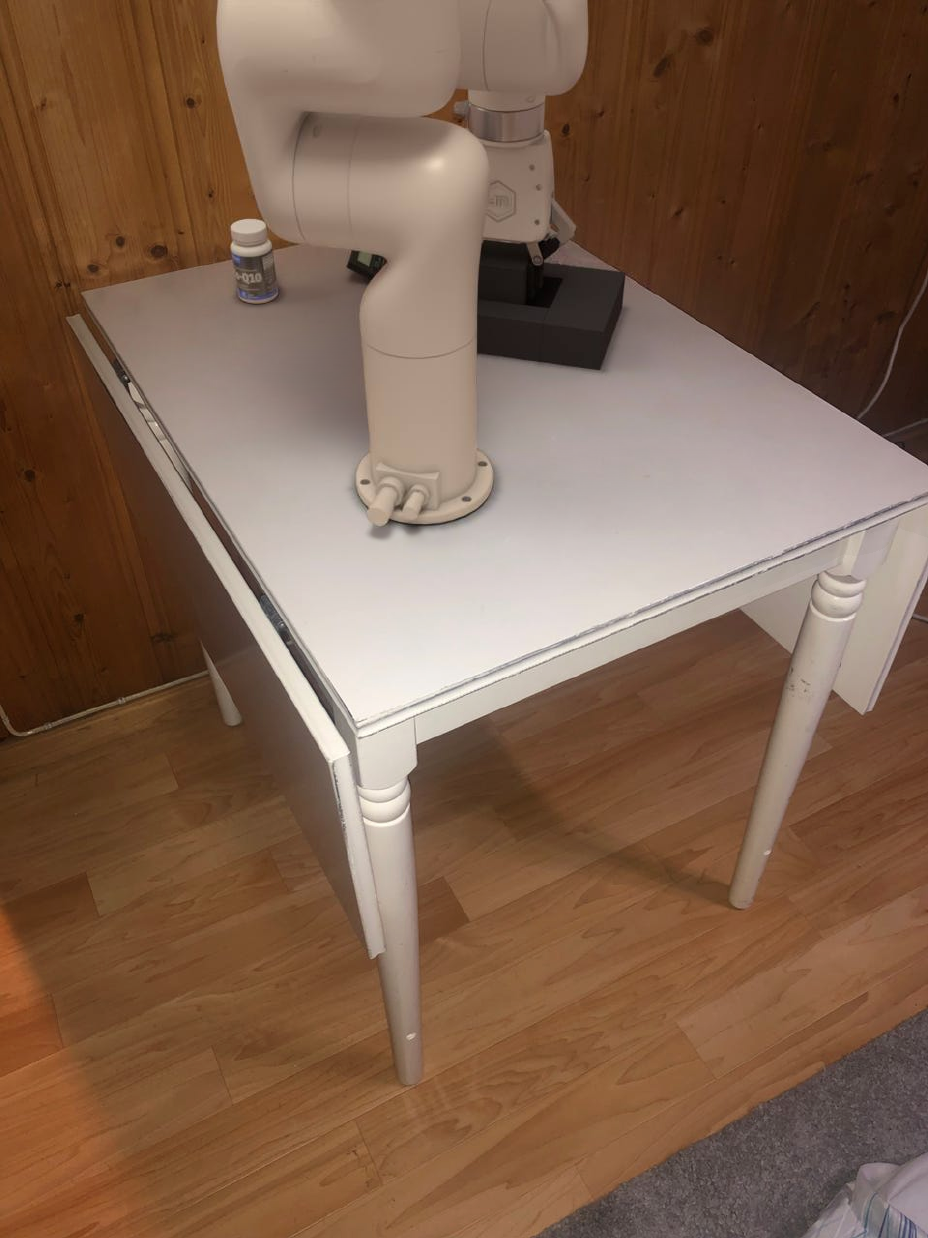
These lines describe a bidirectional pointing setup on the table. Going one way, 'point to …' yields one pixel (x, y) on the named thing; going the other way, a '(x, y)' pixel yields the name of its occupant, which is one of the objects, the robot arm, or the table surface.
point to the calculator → (365, 263)
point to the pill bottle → (253, 261)
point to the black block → (503, 272)
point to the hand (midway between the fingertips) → (502, 288)
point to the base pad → (556, 318)
